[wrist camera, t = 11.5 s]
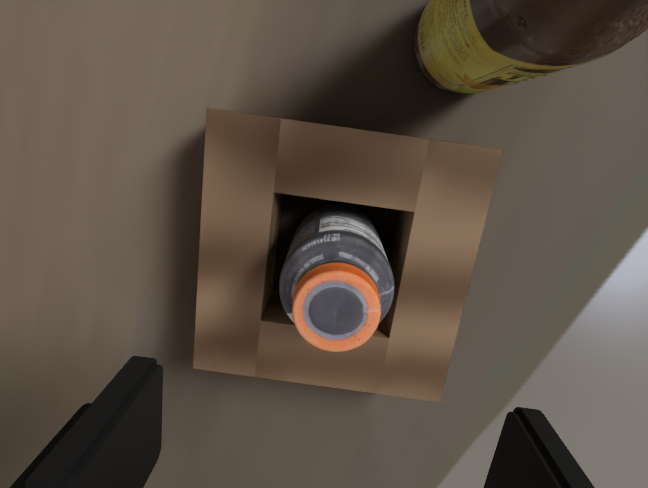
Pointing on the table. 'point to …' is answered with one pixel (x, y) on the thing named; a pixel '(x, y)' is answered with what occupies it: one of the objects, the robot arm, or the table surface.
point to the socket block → (351, 187)
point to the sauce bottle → (519, 38)
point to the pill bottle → (336, 278)
